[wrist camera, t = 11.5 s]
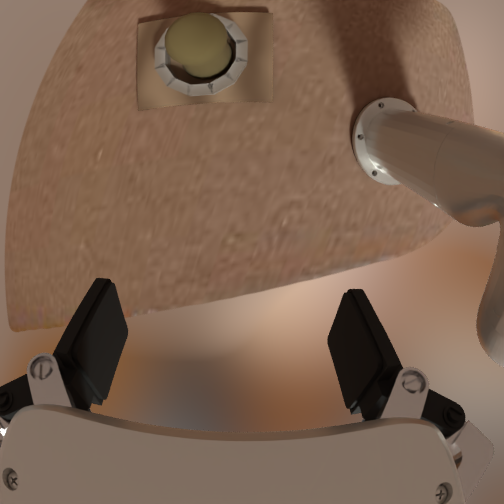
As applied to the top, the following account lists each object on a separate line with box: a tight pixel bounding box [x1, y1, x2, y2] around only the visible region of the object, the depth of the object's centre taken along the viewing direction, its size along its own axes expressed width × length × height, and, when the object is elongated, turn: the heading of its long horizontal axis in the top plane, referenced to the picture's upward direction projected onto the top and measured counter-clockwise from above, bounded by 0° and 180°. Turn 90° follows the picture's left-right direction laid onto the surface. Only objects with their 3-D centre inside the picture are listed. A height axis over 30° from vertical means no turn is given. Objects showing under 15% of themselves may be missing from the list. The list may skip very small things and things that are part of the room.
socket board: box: [137, 12, 273, 111], centre depth 24 cm, size 16×12×4 cm
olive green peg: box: [165, 12, 233, 80], centre depth 20 cm, size 6×6×11 cm
